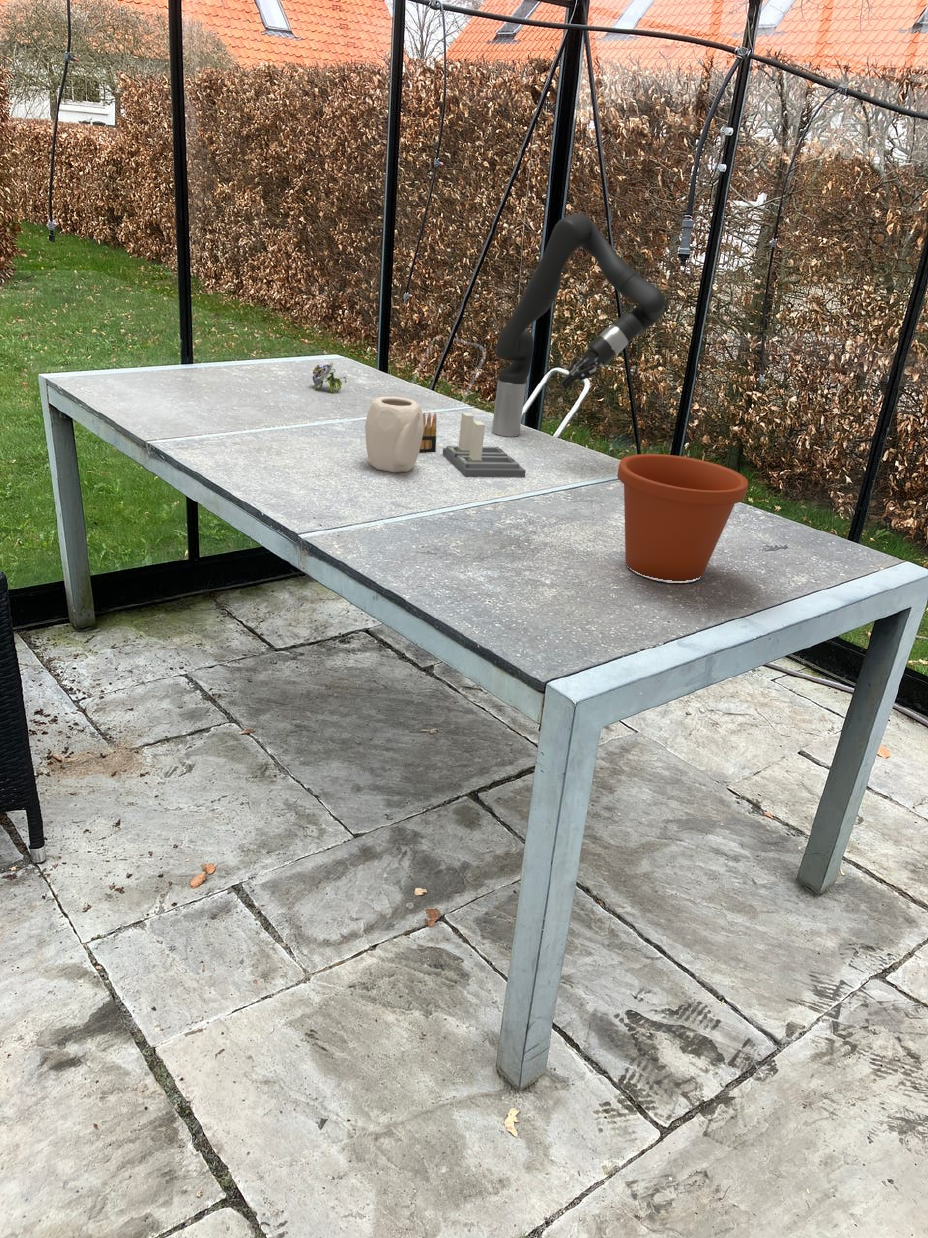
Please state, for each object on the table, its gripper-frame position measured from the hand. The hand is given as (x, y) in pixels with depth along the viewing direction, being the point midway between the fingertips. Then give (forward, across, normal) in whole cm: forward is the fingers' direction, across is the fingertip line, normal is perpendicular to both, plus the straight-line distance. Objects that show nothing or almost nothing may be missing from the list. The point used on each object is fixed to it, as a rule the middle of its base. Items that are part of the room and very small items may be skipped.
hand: (562, 386), depth 278 cm
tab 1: (+33, -8, -1) cm, 34 cm away
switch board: (+32, -3, +3) cm, 32 cm away
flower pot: (+19, +77, +15) cm, 81 cm away
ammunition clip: (+43, -16, -8) cm, 47 cm away
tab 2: (+33, +2, -1) cm, 33 cm away
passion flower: (+53, -96, -16) cm, 110 cm away
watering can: (+52, +1, -16) cm, 54 cm away
